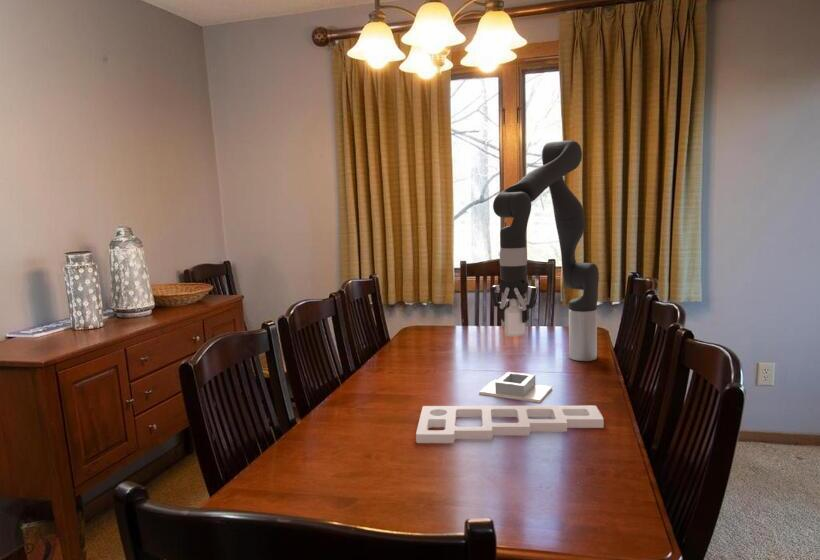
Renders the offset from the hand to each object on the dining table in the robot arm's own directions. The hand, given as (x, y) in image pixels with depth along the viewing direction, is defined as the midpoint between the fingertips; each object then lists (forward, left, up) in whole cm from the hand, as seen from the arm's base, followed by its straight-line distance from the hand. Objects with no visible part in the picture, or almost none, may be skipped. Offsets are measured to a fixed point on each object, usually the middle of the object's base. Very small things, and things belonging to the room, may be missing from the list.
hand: (514, 321), depth 157 cm
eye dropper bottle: (0, 0, -4) cm, 4 cm away
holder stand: (0, 0, -21) cm, 21 cm away
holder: (+25, +7, -22) cm, 34 cm away
